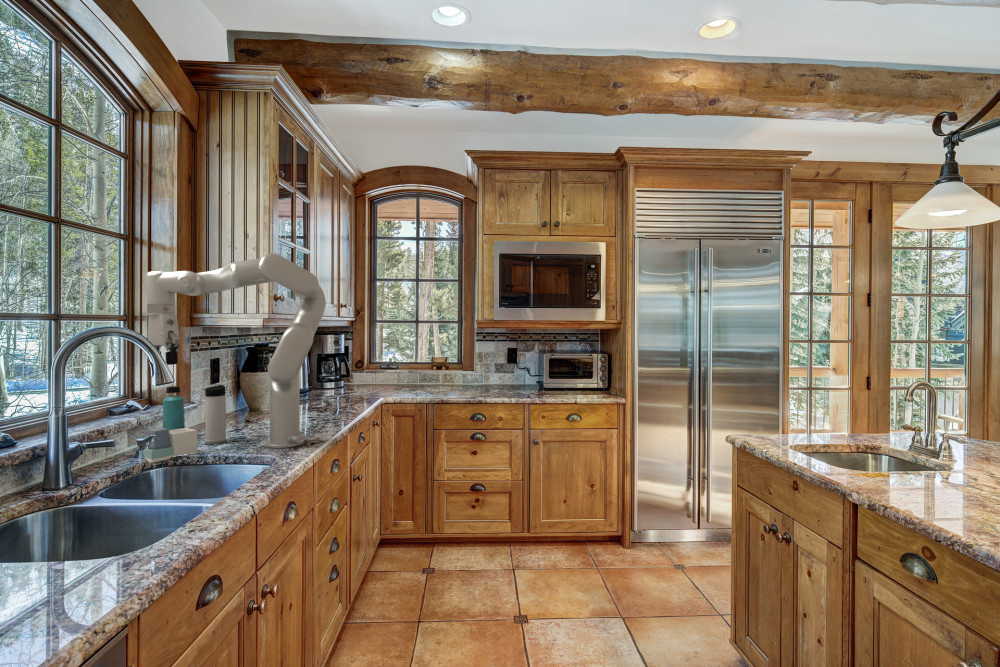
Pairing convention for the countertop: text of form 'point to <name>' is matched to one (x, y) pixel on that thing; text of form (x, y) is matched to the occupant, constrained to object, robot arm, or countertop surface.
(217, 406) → the travel mug
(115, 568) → the countertop surface
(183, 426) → the beverage bottle
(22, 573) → the countertop surface
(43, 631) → the countertop surface
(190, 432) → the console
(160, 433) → the grey rectangular block
